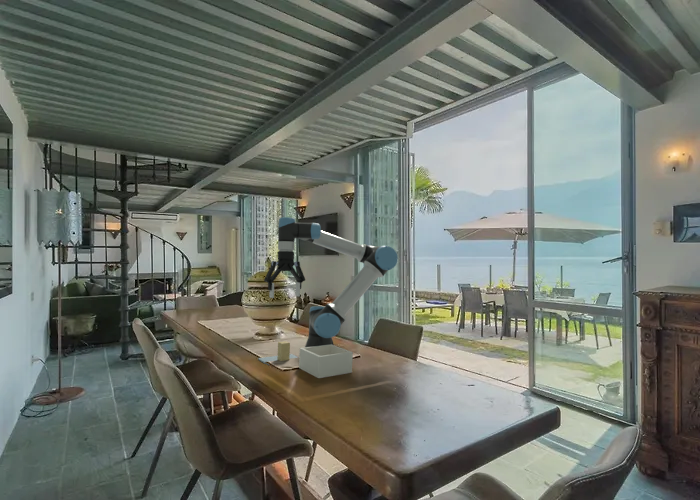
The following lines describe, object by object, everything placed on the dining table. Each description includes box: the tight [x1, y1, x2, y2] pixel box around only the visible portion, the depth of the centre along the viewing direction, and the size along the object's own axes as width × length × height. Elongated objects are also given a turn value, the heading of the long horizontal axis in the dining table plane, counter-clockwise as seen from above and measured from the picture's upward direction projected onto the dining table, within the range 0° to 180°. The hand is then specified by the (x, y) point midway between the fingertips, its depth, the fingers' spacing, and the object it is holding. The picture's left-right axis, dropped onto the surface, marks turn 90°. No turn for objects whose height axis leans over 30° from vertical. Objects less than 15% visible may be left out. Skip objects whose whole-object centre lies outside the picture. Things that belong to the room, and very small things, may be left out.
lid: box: [257, 340, 299, 366], centre depth 173 cm, size 17×17×9 cm
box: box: [298, 344, 354, 379], centre depth 159 cm, size 16×16×9 cm
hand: (284, 297), depth 177 cm, fingers open, 13 cm apart
